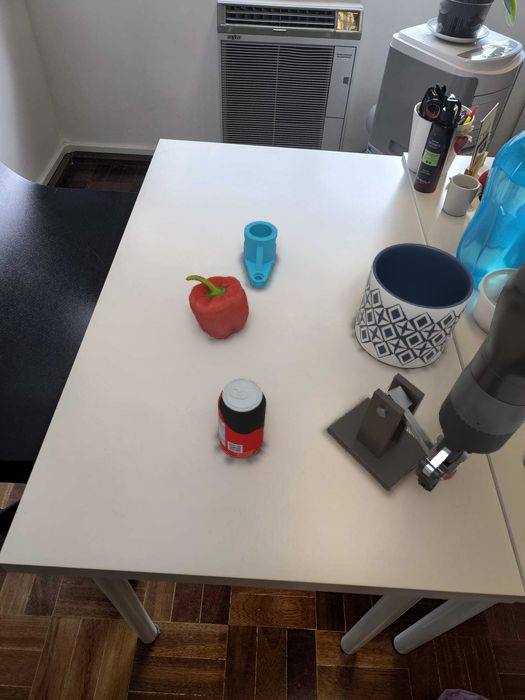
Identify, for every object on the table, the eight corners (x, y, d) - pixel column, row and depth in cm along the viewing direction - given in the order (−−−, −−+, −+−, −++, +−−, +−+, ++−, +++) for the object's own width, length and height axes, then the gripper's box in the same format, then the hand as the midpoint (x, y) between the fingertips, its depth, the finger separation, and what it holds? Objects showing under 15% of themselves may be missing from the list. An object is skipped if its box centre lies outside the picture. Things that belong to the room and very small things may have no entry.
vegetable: (178, 336, 82) (172, 293, 74) (201, 298, 88) (198, 255, 81) (237, 353, 80) (237, 311, 72) (256, 312, 86) (258, 270, 79)
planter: (445, 316, 88) (475, 255, 77) (440, 380, 78) (474, 320, 67) (362, 296, 91) (379, 234, 80) (346, 355, 81) (364, 293, 70)
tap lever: (449, 471, 62) (468, 468, 59) (432, 487, 61) (451, 484, 58) (390, 388, 64) (406, 381, 61) (373, 402, 62) (388, 395, 59)
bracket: (275, 251, 99) (277, 221, 93) (274, 289, 91) (277, 259, 85) (244, 249, 99) (244, 220, 93) (241, 287, 91) (241, 258, 85)
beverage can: (255, 466, 66) (259, 420, 57) (213, 454, 67) (210, 407, 58) (267, 429, 70) (272, 381, 61) (227, 418, 71) (226, 369, 62)
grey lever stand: (427, 454, 69) (459, 405, 59) (387, 491, 65) (414, 445, 55) (366, 401, 75) (386, 348, 65) (326, 431, 71) (341, 380, 61)
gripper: (480, 466, 44) (424, 531, 57) (554, 391, 51) (488, 465, 64) (417, 413, 48) (378, 486, 61) (493, 350, 54) (443, 428, 67)
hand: (434, 475), depth 62 cm, fingers closed on tap lever, 3 cm apart
